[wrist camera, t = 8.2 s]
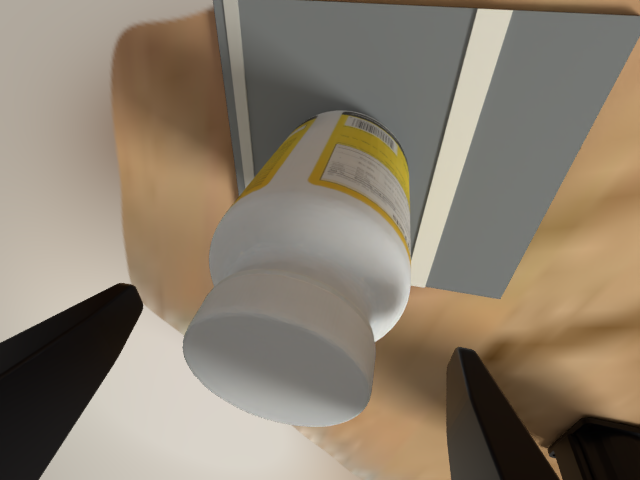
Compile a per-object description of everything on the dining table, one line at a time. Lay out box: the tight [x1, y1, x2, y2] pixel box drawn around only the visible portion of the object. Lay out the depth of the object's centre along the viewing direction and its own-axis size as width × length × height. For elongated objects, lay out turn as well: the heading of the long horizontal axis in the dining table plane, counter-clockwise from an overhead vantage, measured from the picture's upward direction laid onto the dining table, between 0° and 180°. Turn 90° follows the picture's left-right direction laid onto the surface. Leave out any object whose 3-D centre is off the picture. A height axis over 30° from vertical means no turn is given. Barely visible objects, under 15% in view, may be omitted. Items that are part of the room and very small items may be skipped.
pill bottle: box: [183, 110, 411, 427], centre depth 12 cm, size 6×6×12 cm
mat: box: [213, 0, 640, 299], centre depth 17 cm, size 16×14×1 cm
